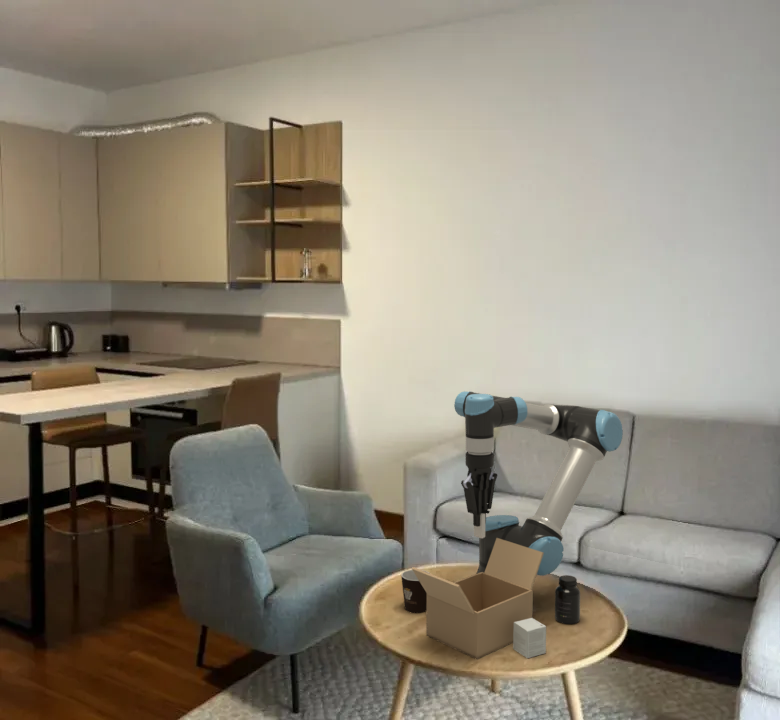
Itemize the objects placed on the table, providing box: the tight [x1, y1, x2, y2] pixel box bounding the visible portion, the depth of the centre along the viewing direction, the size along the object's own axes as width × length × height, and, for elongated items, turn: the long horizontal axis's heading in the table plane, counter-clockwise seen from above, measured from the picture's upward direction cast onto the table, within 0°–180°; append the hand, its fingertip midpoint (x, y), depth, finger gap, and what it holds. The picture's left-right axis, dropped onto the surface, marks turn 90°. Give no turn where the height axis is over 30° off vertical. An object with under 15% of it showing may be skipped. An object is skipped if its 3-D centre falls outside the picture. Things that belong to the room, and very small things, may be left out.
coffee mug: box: [400, 569, 430, 614], centre depth 229 cm, size 12×9×10 cm
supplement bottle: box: [554, 574, 581, 625], centre depth 223 cm, size 7×7×12 cm
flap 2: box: [484, 538, 544, 590], centre depth 222 cm, size 10×16×1 cm
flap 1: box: [411, 566, 475, 614], centre depth 203 cm, size 10×16×1 cm
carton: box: [425, 572, 534, 660], centre depth 214 cm, size 22×18×12 cm
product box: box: [512, 617, 547, 659], centre depth 205 cm, size 6×6×7 cm
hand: (479, 536), depth 218 cm, fingers closed
